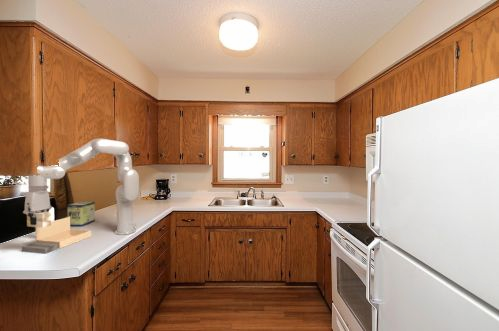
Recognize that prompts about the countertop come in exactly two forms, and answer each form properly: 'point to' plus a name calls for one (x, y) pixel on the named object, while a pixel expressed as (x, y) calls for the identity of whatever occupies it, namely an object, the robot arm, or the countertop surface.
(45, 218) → the block
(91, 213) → the protein box
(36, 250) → the block
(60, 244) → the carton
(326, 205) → the countertop surface
